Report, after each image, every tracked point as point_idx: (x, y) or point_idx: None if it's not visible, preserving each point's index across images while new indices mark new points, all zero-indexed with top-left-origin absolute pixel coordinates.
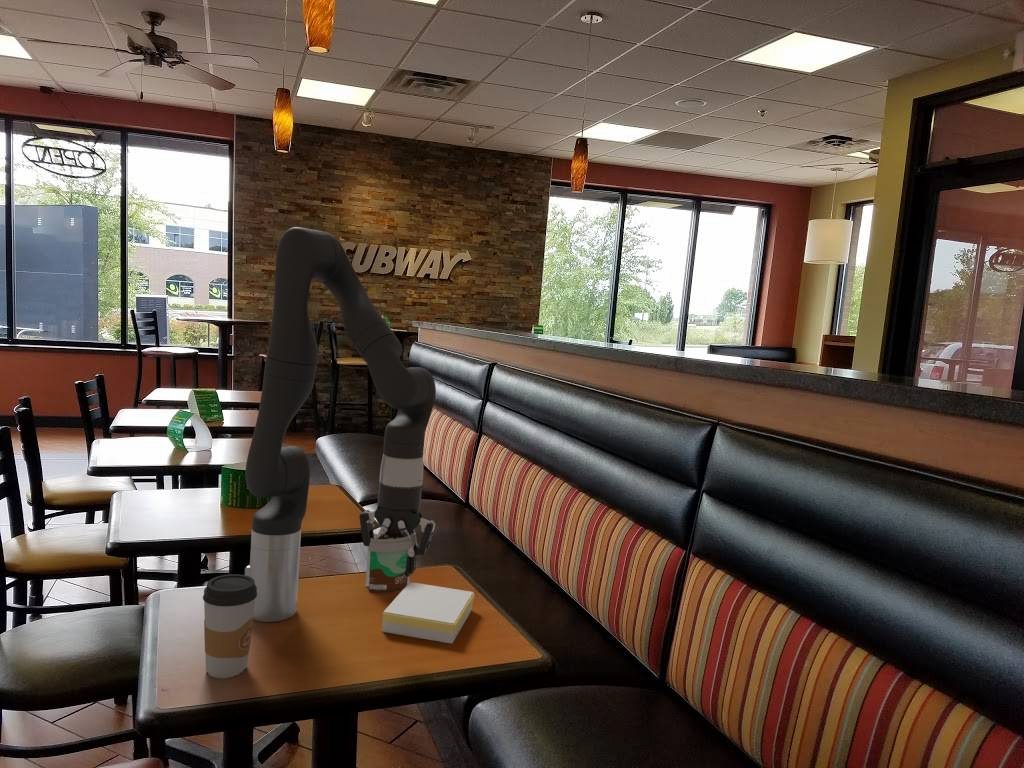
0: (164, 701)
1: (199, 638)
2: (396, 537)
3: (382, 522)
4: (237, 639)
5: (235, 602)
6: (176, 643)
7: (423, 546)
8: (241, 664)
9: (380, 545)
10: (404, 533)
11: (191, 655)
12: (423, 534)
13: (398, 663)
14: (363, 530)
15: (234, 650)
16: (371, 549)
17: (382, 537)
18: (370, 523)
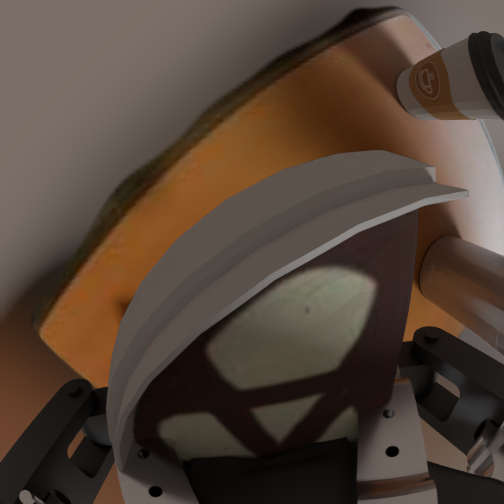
0: (412, 25)
1: (471, 163)
2: (253, 452)
3: (431, 496)
4: (429, 59)
5: (474, 35)
6: (478, 144)
7: (51, 413)
8: (403, 81)
9: (305, 190)
10: (163, 491)
11: (457, 120)
12: (32, 474)
13: (193, 214)
14: (492, 368)
15: (420, 62)
16: (369, 155)
17: (366, 394)
18: (485, 431)
